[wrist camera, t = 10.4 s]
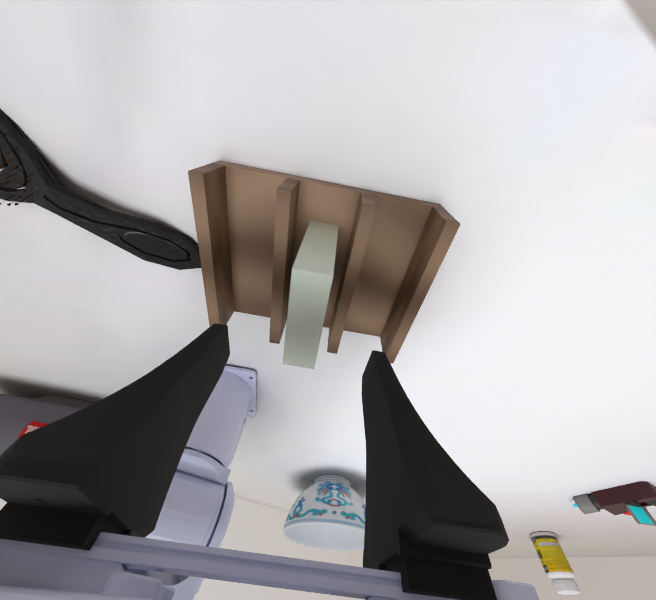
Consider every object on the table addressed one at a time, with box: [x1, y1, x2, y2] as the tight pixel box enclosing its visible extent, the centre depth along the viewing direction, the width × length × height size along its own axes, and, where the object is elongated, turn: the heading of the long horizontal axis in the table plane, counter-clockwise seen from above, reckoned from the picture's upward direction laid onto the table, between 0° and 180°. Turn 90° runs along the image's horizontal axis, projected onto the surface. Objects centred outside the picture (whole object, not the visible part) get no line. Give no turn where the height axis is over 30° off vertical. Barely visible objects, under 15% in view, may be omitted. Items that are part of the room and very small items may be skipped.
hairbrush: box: [0, 109, 202, 270], centre depth 17 cm, size 8×4×25 cm
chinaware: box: [283, 475, 366, 551], centre depth 44 cm, size 15×15×8 cm
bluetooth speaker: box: [0, 394, 94, 455], centre depth 33 cm, size 23×9×10 cm, turn 74°
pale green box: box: [283, 220, 339, 369], centre depth 17 cm, size 7×2×7 cm, turn 171°
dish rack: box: [188, 161, 460, 363], centre depth 19 cm, size 12×15×4 cm
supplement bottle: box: [530, 532, 581, 595], centre depth 52 cm, size 5×5×8 cm
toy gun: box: [573, 481, 656, 526], centre depth 40 cm, size 10×12×5 cm
